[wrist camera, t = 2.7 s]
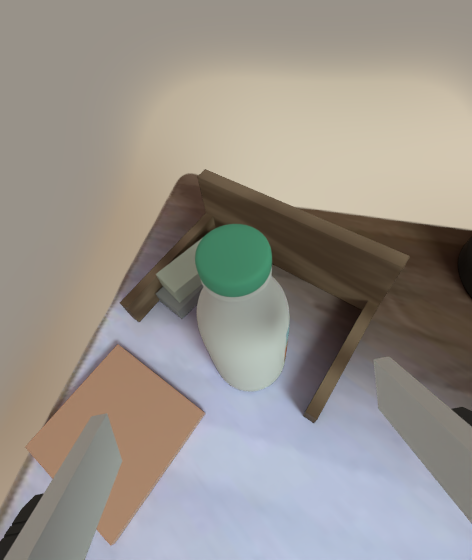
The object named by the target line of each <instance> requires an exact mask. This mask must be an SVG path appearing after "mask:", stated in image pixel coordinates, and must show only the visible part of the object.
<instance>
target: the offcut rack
mask: <svg viewBox="0 0 472 560" xmlns="http://www.w3.org/2000/svg"><path fill="white" fill-rule="evenodd" d="M197 178H198V182H199V186H200V190H201V194H202V198H203V202H204V206H205V210H206V213H205V214H204V215H203V216H202V218H201V219H200V220H199V221H198V222H197V223H196V224H195V225H194V226H193V227H192V228H191V229H190V230H189V231H188V232H187V233H186V234H185V235H184V236H183V237H182V238H181V239H180V240H179V241H178V243H177V244H176V245H175V246H174V247H173V248H172V249H171V250H170V251H169V252H168V253H167V254H166V255H165V256H164V257H163V258H162V259H161V260H160V261H159V262H158V263H157V264H156V265H155V267H154V268H153V269H152V270H151V271H150V272H149V273H148V274H147V275H146V276H145V277H144V278H143V279H142V280H141V281H140V282H139V283H138V284H137V285H136V286H135V287H134V288H133V289H132V290H131V292H130V293H129V294H128V295H127V296H126V297H125V298H124V299H123V300H122V301H121V302H120V304H121V305H122V306H123V307H124V308H125V309H126V310H127V312H128V313H129V314H130V315H131V316H132V317H133V318H134V319H135V320H137V321H138V322H140V321H141V320H142V319H143V318H144V317H145V316H146V314H147V313H148V312H149V311H150V310H151V309H152V308H153V307H154V306H155V304H156V303H157V302H158V301H159V298H158V297H157V295H156V293H157V292H158V291H159V290H160V289H161V288H162V287H163V285H162V284H161V282H160V281H159V279H158V277H157V276H156V274H157V273H158V272H159V271H160V270H162V269H163V268H164V267H166V266H167V265H168V264H169V263H171V262H172V261H173V260H175V259H176V258H177V257H178V256H180V255H181V254H182V253H184V252H185V251H186V250H188V249H189V248H190V247H191V246H193V245H194V244H195V243H197V242H198V241H199V240H200V239H202V238H203V237H204V236H205V235H206V234H207V233H209V232H210V231H212V230H213V229H215V228H218V227H220V226H223V225H228V224H243V225H248V226H251V227H253V228H255V229H257V230H258V231H260V232H261V233H262V234H263V235H264V236H265V237H266V239H267V240H268V242H269V245H270V247H271V252H272V264H274V265H275V266H277V267H279V268H281V269H283V270H285V271H287V272H289V273H291V274H293V275H295V276H297V277H299V278H301V279H303V280H305V281H307V282H308V283H310V284H312V285H314V286H316V287H318V288H320V289H322V290H324V291H326V292H328V293H330V294H332V295H334V296H336V297H338V298H340V299H341V300H343V301H345V302H347V303H349V304H351V305H353V306H355V307H357V308H359V309H361V310H362V312H361V314H360V316H359V317H358V319H357V321H356V323H355V324H354V326H353V328H352V330H351V332H350V333H349V335H348V337H347V339H346V340H345V342H344V344H343V346H342V348H341V349H340V351H339V353H338V355H337V356H336V358H335V360H334V362H333V364H332V365H331V367H330V369H329V371H328V372H327V374H326V376H325V378H324V380H323V381H322V383H321V385H320V387H319V388H318V390H317V392H316V394H315V396H314V397H313V399H312V401H311V403H310V404H309V406H308V408H307V410H306V411H305V413H304V415H303V416H304V417H305V418H307V419H308V420H310V421H311V422H313V423H314V422H315V421H316V420H317V419H318V417H319V415H320V413H321V411H322V410H323V408H324V406H325V404H326V402H327V400H328V398H329V397H330V395H331V393H332V391H333V389H334V387H335V386H336V384H337V382H338V380H339V378H340V376H341V374H342V373H343V371H344V369H345V367H346V365H347V363H348V362H349V360H350V358H351V356H352V354H353V352H354V350H355V349H356V347H357V345H358V343H359V341H360V339H361V338H362V336H363V334H364V332H365V330H366V328H367V326H368V325H369V323H370V321H371V319H372V317H373V315H374V313H375V312H376V310H377V308H378V306H379V305H380V303H381V301H382V300H383V298H384V297H385V295H386V294H387V292H388V291H389V289H390V288H391V286H392V285H393V283H394V282H395V280H396V279H397V277H398V276H399V274H400V272H401V271H402V269H403V268H404V266H405V264H406V262H407V260H408V259H409V257H410V256H408V255H406V254H403V253H401V252H399V251H396V250H394V249H392V248H389V247H387V246H384V245H382V244H380V243H377V242H375V241H373V240H370V239H368V238H366V237H363V236H361V235H359V234H356V233H354V232H352V231H349V230H347V229H344V228H342V227H340V226H337V225H335V224H333V223H330V222H328V221H326V220H323V219H321V218H319V217H316V216H314V215H312V214H309V213H307V212H305V211H302V210H300V209H297V208H295V207H293V206H290V205H288V204H286V203H283V202H281V201H279V200H276V199H274V198H272V197H269V196H267V195H264V194H262V193H260V192H257V191H255V190H253V189H250V188H248V187H246V186H243V185H241V184H239V183H236V182H234V181H231V180H229V179H227V178H225V177H222V176H220V175H218V174H215V173H213V172H210V171H208V170H206V169H205V170H204V171H203V172H202V173H201V174H200V175H199V176H198V177H197Z"/></svg>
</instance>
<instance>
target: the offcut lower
mask: <svg viewBox="0 0 472 560" xmlns="http://www.w3.org/2000/svg"><path fill="white" fill-rule="evenodd" d="M202 289H203V285H200V286H199V287H198V288H197V289H196V290H194V291H193V292H192V293H191V294H190V295H188V296H187V297H186V298H185V299H184V300H182V301H181V302H180V303H179V302H178V301H177V300H176V299H175V298H174V297H173V296H172V295H171V294H170V293H169V292H168V291H167V290H166V289H165V288H164V287H162V288H161V289H160V290H159V291H158V292H157V293H156V295H157V297H158V298H159V300H160V302H162V303H163V304H164V305H165V306H167V307H168V308H169V309H170V310H172V311H173V312H174V313H175V314H176V315H178V316H179V317H180V318H181V319H183V318H184V317H185V316H186V315H187V314H188V313H189V312H190V311H191V310H192V309H193V308H194V306H195V305H196V304H197V303H198V299H199V296H200V293H201V291H202Z"/></svg>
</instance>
